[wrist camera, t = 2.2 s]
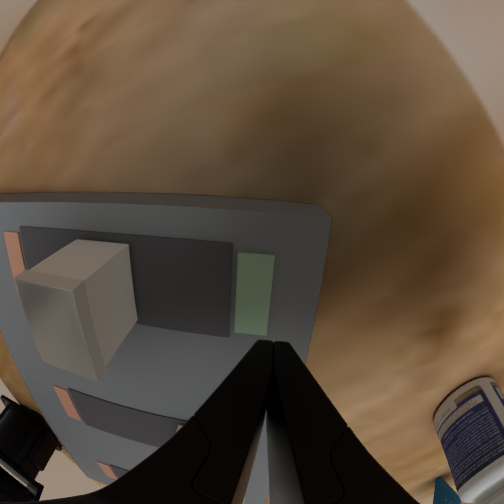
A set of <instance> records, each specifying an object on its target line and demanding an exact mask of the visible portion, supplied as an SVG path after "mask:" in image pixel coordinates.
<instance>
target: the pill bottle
mask: <svg viewBox="0 0 504 504" xmlns="http://www.w3.org/2000/svg"><path fill="white" fill-rule="evenodd" d="M434 425H435V428H436V431H437V434H438V437H439V439H440V442H441V444H442V447H443V450H444V452H445V455H446V458H447V461H448V464H449V467H450V470H451V473H452V476H453V479H454V482H455V485H456V489H457V492H458V495H459V498H460V499H461V500H462V501H463V502H466V503H472V502H476V503H477V504H504V394H503V393H502V391H501V389H500V388H499V386H498V385H497V384H496V382H495V381H494V380H493V379H492V378H489V377H484V378H478V379H476V380H473V381H471V382H469V383H467V384H465V385H463V386H461V387H460V388H459V389H457V390H456V391H455V392H453V393H452V394H451V395H450V396H449V397H448V398H447V399H446V400H445V401H444V402H443V403H442V405H441V406H440V407H439V409H438V410H437V412H436V414H435V417H434Z"/></svg>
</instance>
